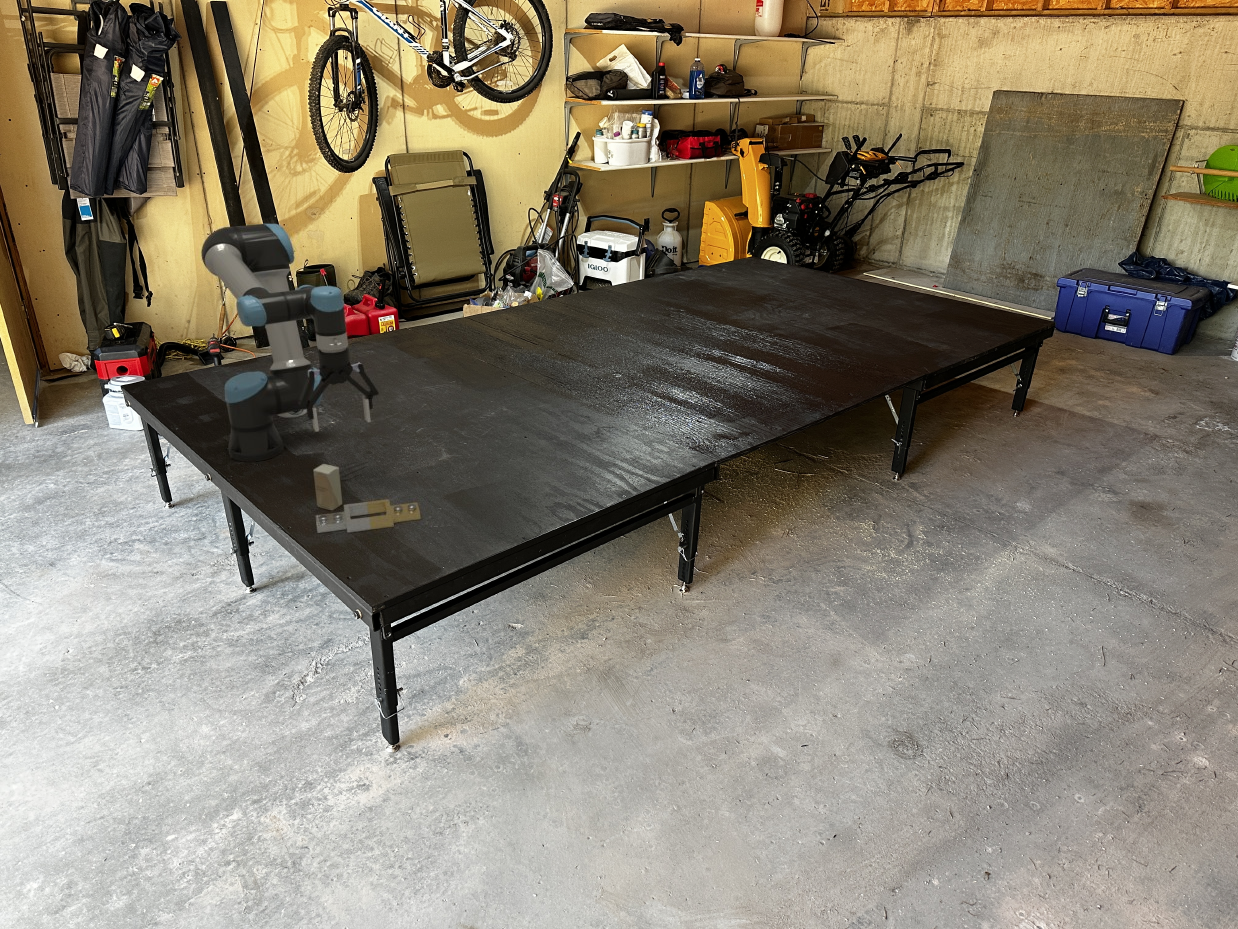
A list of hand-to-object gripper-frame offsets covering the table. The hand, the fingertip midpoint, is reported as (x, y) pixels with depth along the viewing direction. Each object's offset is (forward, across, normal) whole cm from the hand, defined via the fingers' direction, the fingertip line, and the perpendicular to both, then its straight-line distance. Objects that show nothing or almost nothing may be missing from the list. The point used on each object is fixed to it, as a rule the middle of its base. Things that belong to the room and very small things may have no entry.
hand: (342, 425), depth 223 cm
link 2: (+19, +6, -21) cm, 29 cm away
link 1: (+19, -7, -19) cm, 28 cm away
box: (+19, -7, -7) cm, 22 cm away
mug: (+18, -3, +61) cm, 64 cm away
